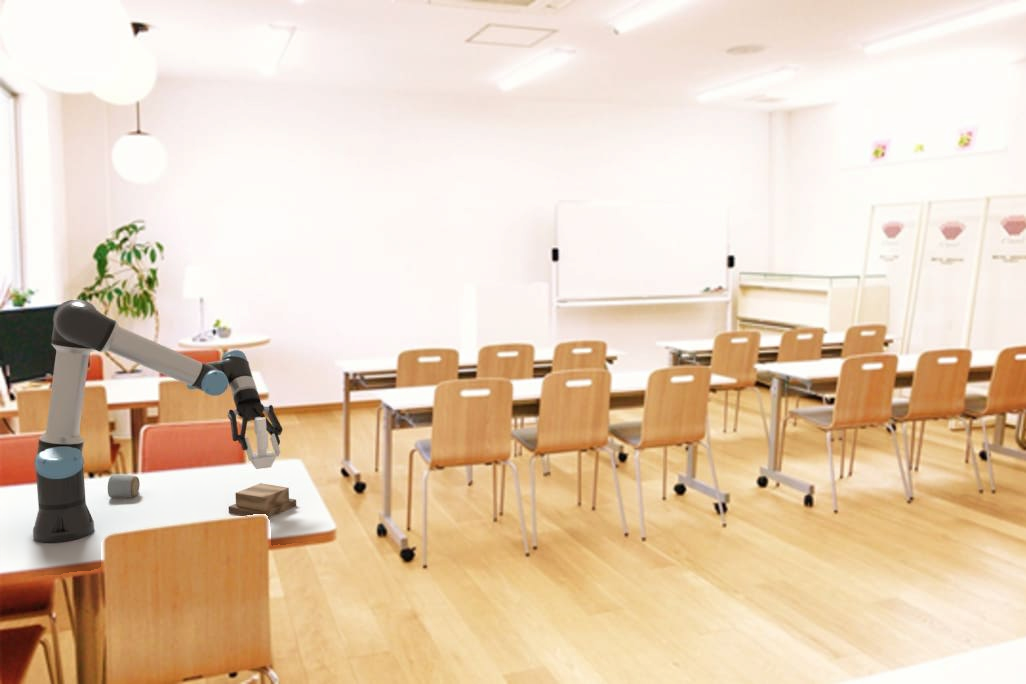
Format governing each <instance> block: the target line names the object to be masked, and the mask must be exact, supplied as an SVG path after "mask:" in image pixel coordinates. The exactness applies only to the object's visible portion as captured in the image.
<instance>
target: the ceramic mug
mask: <svg viewBox="0 0 1026 684" xmlns="http://www.w3.org/2000/svg"><path fill="white" fill-rule="evenodd" d="M140 485H141V484H140V478H139V477H138V476H137V475H133V474H118V473H117V474H115V473H112V474H111V475H110V477H109V478H108V481H107V495H108V497H109V498H111V499H115V498H116V499H119V498H120V499H121V498H126V499H127V498H129V499H130V498H134V497H137V495H138V493H139V491H140Z"/></svg>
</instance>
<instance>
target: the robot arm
mask: <svg viewBox="0 0 1026 684" xmlns="http://www.w3.org/2000/svg"><path fill="white" fill-rule="evenodd" d="M52 321H53V329H52V335H51V343H50V345H52V347H53V348H54V349H55V352H56V354H55V359H54V366H53V375H52V382H51V383H52V384H51V390H50V397H49V398H50V399H49V405H48V413H47V422H46V429H45V432H44V433H43V434H42V435H40V436H39V438H38V445H37V452H36V455H35V458H34V469H35V474H36V475H35V476H36V489H37V504H38V511H37V514H36V515H37V516H36V518H35V522H34V526H33V528H32V529H33V530H32V536H33V540H35V541H37V542H40V543H60V542H61V543H62V542H69V541H73V540H78V539H80V538H83V537H87V536H88V535H90V534H92V533H93V532H94V530H95V522H94V519H93V517H92V515H91V512H90V510H89V507H88V506H87V504H86V503H87V501H86V487H85V484H86V483H85V472H84V469H85V468H84V464H85V461H84V456H83V449H84V442H85V440H84V438H83V437H82V436H81V435H80V430H81V429H80V428H81V421H82V420H81V419H82V414H83V413H82V412H83V405H84V397H85V390H86V383H87V375H88V368H89V360H90V354H91V353H92V352H94V351H97V352H98V353H102V352H103V353H104V352H110V353H111V354H114V355H116V356H119V357H121V358H123V359H126V360H128V361H130V362H132V363H136V364H137V365H141V366H143V367H145V368H147V369H150V370H152V371H155V372H157V373H159V374H162V375H164V376H167V377H169V378H172V379H174V380H176V381H178V382H181V383H183V384H185V385H186V388H187V389H189V390H200V391H202V392H203V393H205V394H207V395H208V396H209V395H210V396H212V397H213V396H214V397H215V396H220V395H222V394H224V393H225V392H226V391H227V389H228V387H229V389H230V393H231V394H232V395H231V396H232V397H233V402H234V405H235V408H236V409H229V411H228V413H227V418H228V419H229V421H230V429H231V436H232V438H231V439H232V441H233V442H238V443H239V444H240V446H241V449H242V451H245V452H246V454H247V459H248V461H251V460H252V458H253V450H252V447H251V443H250V440H249V437H248V436H247V437H246V432H247V426H248V422H251V421H254V419H255V418H256V417H261V418H263V417H265V418H266V432H267V434H269V435H270V438H269V439H270V442H271V446H272V449H273V453H274V454H275V455H276V456H277V457H280V453H281V449H280V443H281V441H280V436H281V435H282V432H283V430H284V429H283V427H282V425H281V424H280V421H279V419H278V417H277V415H276V414H275V412H274V405H272V404H270V405H268V406H264V405H263V403H262V402H261V401H262V400H261V397H260V396H259V392H258V389H257V385H256V382H255V379H254V376H253V373H252V369H251V367H250V363H249V361H248V358H247V356H246V353H245V352H243V351H242V350H239V349H231V350H229V351H227V352H225V353H224V354H223V355H222V357H221V359H220V360H215V361H209V362H201V361H199V360H198V359H197V360H196V359H194V358H192V357H190V356H187V355H185V354H183V353H180V352H178V351H176V350H174V349H172V348H170V347H168V346H165V345H162V344H160V343H157V342H155V341H153V340H151V339H149V338H146V337H144V336H142V335H139V334H138V333H135V332H133V331H130V330H128V329H126V328H124V327H121V326H120V325H119V323H118V321H116V320H115V319H112V318H110V317H108V316H107V315H105V314H103V313H101V312H100V311H99V310H97V308H96V307H95V306H94V305H93V304H92V303H90V302H89V301H87V300H83V299H80V298H79V299H74V298H73V299H69V300H67V301H64V302H62V303H61V304H60V305H58V307H57V308H56V309H55V311H54V314H53V318H52ZM263 412H265V413H263ZM265 414H266V415H267V416H268V419H269V420H268V419H267V417H266V416H265ZM237 415H238V416H239V417H241V419H242V420H241V427H240V434H239V430H238V423H237Z"/></svg>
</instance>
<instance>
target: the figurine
mask: <svg viewBox="0 0 1026 684" xmlns="http://www.w3.org/2000/svg"><path fill="white" fill-rule="evenodd" d="M265 417H266V416H265ZM265 417H263V418H261V417H256V418H255V419H254V420H253V421H254V422H253V425H254V433H255V435H256V449H257V450H256V451H255V452H253V451H252V452H253V458H252V460H251V464H252V466H253V467H254V468H255V469H256V470H259V469H268V468H272V466H273V464H274V462H275V460H276V458H277V457H278V456H276V455H275V452H274V451H272V450H268V449H269V435H268V434H269V433H268V431H267V430H266V419H267V417H266V418H265Z"/></svg>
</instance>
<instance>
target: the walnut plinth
mask: <svg viewBox="0 0 1026 684" xmlns="http://www.w3.org/2000/svg"><path fill="white" fill-rule="evenodd" d="M295 507H297V499H295V498H290V488H289V487H288V486H287V487H285V486H280V485H275V484H268V483H261V482H260V483H257V484H255V485H252V486H249V487H247V488H245V489H242V490H240V491H236V492H235V503H234V504H232V505H229V506H228V514H232V515H238V516H242V517H245V516H244V515H253V514H266V515H267V516H268V519H271V518H272V517H274V516H277V515H279V514H281V513H283V512H286V511H288V510H291V509H293V508H295Z"/></svg>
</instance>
